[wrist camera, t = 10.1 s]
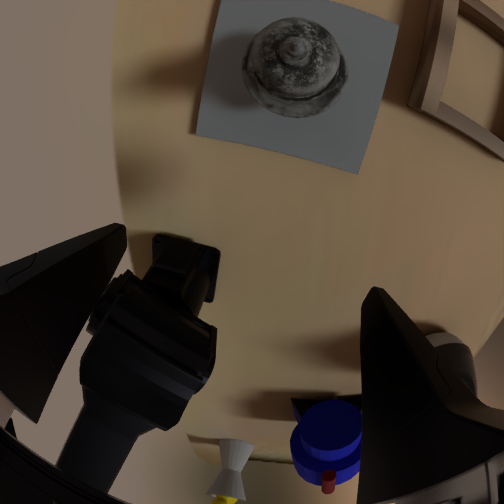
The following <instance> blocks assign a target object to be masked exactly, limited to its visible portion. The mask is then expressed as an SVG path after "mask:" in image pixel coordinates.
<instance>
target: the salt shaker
mask: <svg viewBox="0 0 504 504" xmlns="http://www.w3.org/2000/svg"><path fill="white" fill-rule="evenodd" d="M241 71H242V75H243V80H244V83H245V85H246V87H247V89H248V91H249V93H250V95H251V96H252V97H253V98H254V99H255V100H256V101H257V102H258V103H259V104H260V105H261V106H263V107H264V108H266V109H267V110H269V111H270V112H273V113H276V114H278V115H281V116H284V117H292V118H304V117H312V116H315V115H318V114H320V113H323V112H325V111H326V110H328V109H329V108H331V107H332V106H334V105H335V104H336V103H337V102H338V100H339V99H340V98H341V97H342V96H343V94H344V91H345V89H346V87H347V85H348V79H349V65H348V60H347V56H346V54H345V52H344V50H343V48H342V46H341V45H340V44H339V43H338V42H337V40H336V39H335V38H334V37H333V36H332V35H331V34H330V33H329V32H328V31H327V29H326V28H324V27H323V26H321V25H320V24H318V23H316V22H314V21H311V20H308V19H305V18H297V17H291V18H283V19H280V20H277V21H275V22H272V23H271V24H269V25H268V26H266V27H265V28H264V29H262V30H261V31H260V32H259V33H257V34H256V35H255V36H254V37H253V38H252V40H251V41H250V42H249V44H248V45H247V47H246V49H245V52H244V54H243V57H242V69H241Z"/></svg>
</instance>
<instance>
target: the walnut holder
mask: <svg viewBox="0 0 504 504" xmlns="http://www.w3.org/2000/svg"><path fill="white" fill-rule="evenodd" d="M458 13H460V14H461V15H463V16H465V17H466V18H468V19H469V20H470V21H472V22H473V23H475V24H476V25H478V26H479V27H480V28H482V29H483V30H484V31H486V32H487V33H488V34H490V35H491V36H492V37H494V38H495V39H496V40H497V41H499V42H500V43H501V44H502V45H504V19H503V18H502V17H501V16H500V15H498V14H497V13H496V12H495V11H493V10H492V9H491V8H489V7H488V6H487V5H485V4H484V3H483V2H481V1H480V0H430V7H429V14H428V20H427V25H426V31H425V36H424V41H423V46H422V50H421V55H420V59H419V64H418V68H417V72H416V76H415V80H414V84H413V87H412V91H411V95H410V98H409V102H408V105H407V106H410V107H412V108H414V109H416V110H418V111H420V112H422V113H424V114H426V115H428V116H430V117H432V118H434V119H436V120H438V121H440V122H442V123H444V124H446V125H447V126H449V127H451V128H453V129H455V130H456V131H458V132H460V133H461V134H463V135H465V136H466V137H468V138H470V139H471V140H473V141H475V142H476V143H478V144H479V145H481V146H482V147H484V148H485V149H487V150H488V151H490V152H491V153H493V154H494V155H496V156H497V157H498V158H500V159H501V160H503V161H504V142H503V141H502V140H500V139H499V138H497V137H496V136H495V135H493V134H492V133H491V132H489V131H488V130H486V129H485V128H483V127H482V126H480V125H479V124H477V123H476V122H474V121H473V120H471V119H470V118H468V117H467V116H465V115H463V114H462V113H460V112H458V111H457V110H455V109H453V108H452V107H450V106H448V105H446V104H445V103H443V102H441V101H440V98H441V95H442V91H443V87H444V83H445V79H446V75H447V71H448V66H449V61H450V57H451V52H452V46H453V41H454V35H455V29H456V22H457V14H458Z"/></svg>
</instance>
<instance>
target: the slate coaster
mask: <svg viewBox="0 0 504 504" xmlns="http://www.w3.org/2000/svg"><path fill="white" fill-rule="evenodd" d="M291 17H297V18H305V19H308V20H311V21H314V22H316V23H318V24H320V25H321V26H323V27H324V28H326V29H327V31H328V32H329V33H330V34H331V35H332V36H333V37H334V38H335V39H336V40H337V42H338V43H339V44H340V45H341V46H342V48H343V50H344V52H345V54H346V56H347V60H348V65H349V79H348V85H347V87H346V89H345V91H344V94H343V96H342V97H341V98H340V99H339V100H338V102H337V103H336V104H335V105H334V106H332V107H331V108H329V109H328V110H326V111H325V112H323V113H320V114H318V115H315V116H312V117H304V118H292V117H284V116H281V115H278V114H276V113H273V112H270V111H269V110H267V109H266V108H264V107H263V106H261V105H260V104H259V103H258V102H257V101H256V100H255V99H254V98H253V97H252V96H251V95H250V93H249V91H248V89H247V87H246V85H245V83H244V80H243V75H242V71H241V69H242V57H243V54H244V52H245V49H246V47H247V45H248V44H249V42H250V41H251V40H252V38H253V37H254V36H255V35H256V34H257V33H259V32H260V31H261V30H262V29H264V28H265V27H266V26H268V25H269V24H271V23H272V22H275V21H277V20H280V19H283V18H291ZM398 30H399V25H397V24H395V23H392V22H390V21H387V20H385V19H383V18H380V17H377V16H375V15H372V14H370V13H367V12H364V11H361V10H358V9H355V8H352V7H349V6H346V5H343V4H339V3H336V2H332V1H329V0H221V3H220V8H219V12H218V16H217V20H216V24H215V29H214V33H213V38H212V43H211V48H210V53H209V58H208V63H207V68H206V73H205V79H204V84H203V90H202V96H201V102H200V109H199V115H198V122H197V129H196V135H197V136H203V137H209V138H215V139H220V140H225V141H231V142H236V143H241V144H245V145H250V146H255V147H259V148H264V149H268V150H272V151H276V152H280V153H284V154H288V155H292V156H296V157H300V158H304V159H307V160H311V161H315V162H318V163H322V164H325V165H328V166H332V167H335V168H338V169H342V170H345V171H348V172H351V173H354V174H357V175H358V172H359V169H360V166H361V163H362V160H363V157H364V154H365V151H366V148H367V145H368V142H369V139H370V136H371V132H372V129H373V126H374V123H375V119H376V116H377V113H378V109H379V106H380V102H381V99H382V95H383V91H384V88H385V84H386V80H387V76H388V73H389V69H390V65H391V61H392V56H393V52H394V48H395V43H396V39H397V34H398Z"/></svg>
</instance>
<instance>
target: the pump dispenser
mask: <svg viewBox="0 0 504 504" xmlns="http://www.w3.org/2000/svg"><path fill="white" fill-rule="evenodd" d="M426 338H427V339H428V340H429V341H430V342H431V344H432V345H433V346H434V347H435V349H436V350H437V351H438V353H440V355H441V356H442V357H443V358H444V360H445V361H446V362H447V363H448V364H449V366H450V367H451V368H452V369H453V370H454V372H455V373H456V374H457V375H458V376H459V377H460V378H461V380H462V381H463V382H464V383H465V384H466V385H467V386H468V388H469V389H470V390H471V391H472V392H473V393H474V394H475V396H476V397H477V398H478V389H477V388H478V387H477V377H476V370H475V364H474V360H473V356H472V353H471V351H470V349H469V347H468V346H467V345H465V344H464V343H463V342H462V341H461V340H460V339H459V338H458V337H456V336H454V335H452V334H449V333H433V334H430V335H427V336H426Z"/></svg>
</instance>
